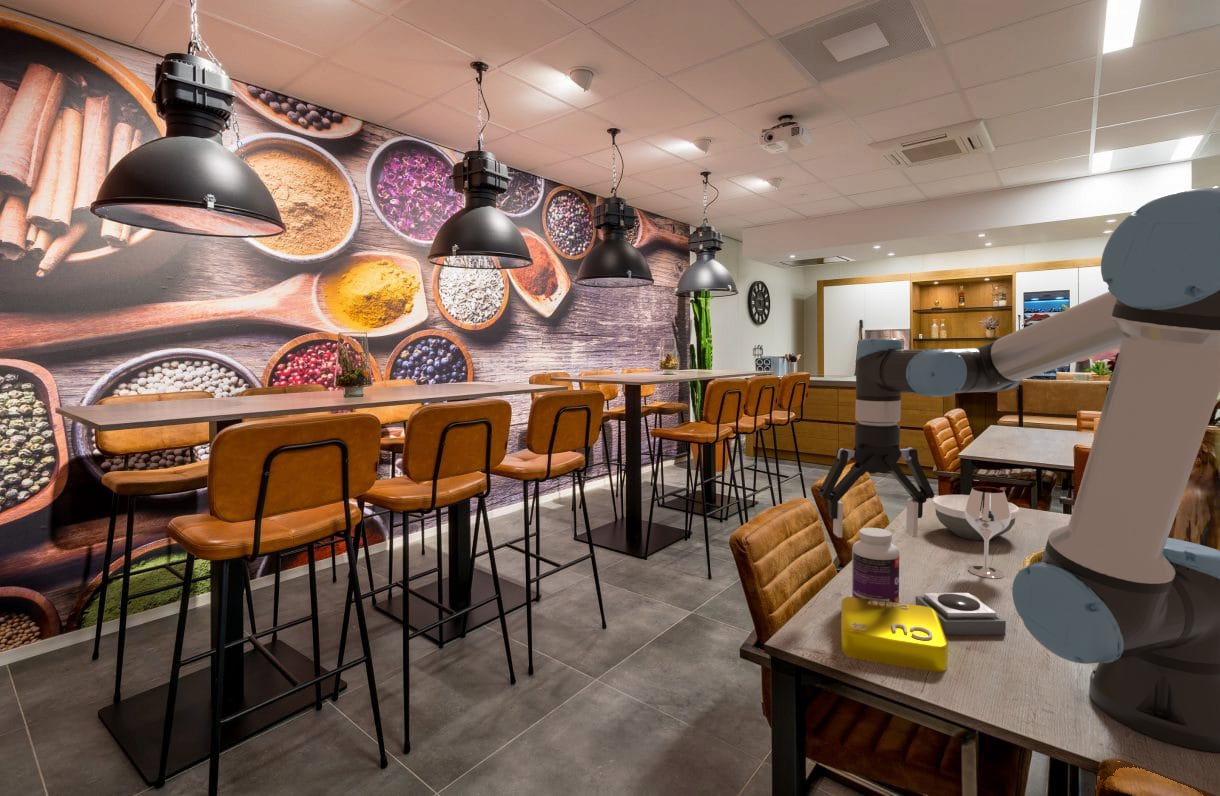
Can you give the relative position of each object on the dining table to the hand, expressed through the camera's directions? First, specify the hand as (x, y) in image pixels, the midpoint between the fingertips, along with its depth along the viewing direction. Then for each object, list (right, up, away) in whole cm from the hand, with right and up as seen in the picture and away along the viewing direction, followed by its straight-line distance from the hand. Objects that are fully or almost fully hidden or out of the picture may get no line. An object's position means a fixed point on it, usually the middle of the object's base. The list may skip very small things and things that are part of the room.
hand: (874, 535), depth 107 cm
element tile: (-3, -15, -12) cm, 20 cm away
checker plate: (+12, -13, -6) cm, 18 cm away
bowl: (+44, -10, +40) cm, 60 cm away
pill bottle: (0, -14, +1) cm, 14 cm away
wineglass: (+31, -12, +15) cm, 37 cm away
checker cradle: (+12, -14, -6) cm, 19 cm away
